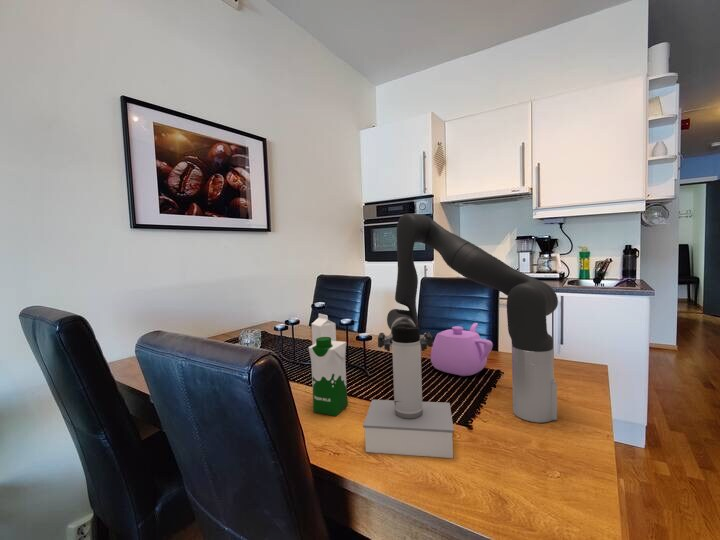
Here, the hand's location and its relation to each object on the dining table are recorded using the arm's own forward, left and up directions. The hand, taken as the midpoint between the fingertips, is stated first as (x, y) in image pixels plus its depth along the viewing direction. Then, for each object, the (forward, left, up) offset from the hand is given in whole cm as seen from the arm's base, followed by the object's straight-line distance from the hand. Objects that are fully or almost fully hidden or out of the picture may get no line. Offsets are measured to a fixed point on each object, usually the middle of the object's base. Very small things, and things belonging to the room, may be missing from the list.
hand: (405, 347), depth 85 cm
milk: (+29, -26, -19) cm, 44 cm away
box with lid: (-1, +9, -18) cm, 20 cm away
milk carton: (+21, -4, -19) cm, 29 cm away
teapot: (-16, -38, -19) cm, 45 cm away
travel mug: (-1, +9, -13) cm, 15 cm away
